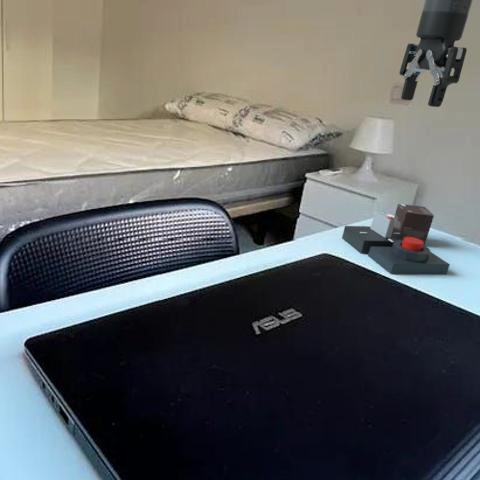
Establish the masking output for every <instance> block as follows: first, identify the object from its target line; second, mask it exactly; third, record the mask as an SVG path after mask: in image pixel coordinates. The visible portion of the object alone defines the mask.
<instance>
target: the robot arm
mask: <svg viewBox="0 0 480 480" xmlns="http://www.w3.org/2000/svg"><path fill="white" fill-rule="evenodd" d="M473 1H474V0H424V4H423V7H422V11H421V14H420V19H419V23H418V26H417V30H416V33H415V34H416V37H417V38H420V40H419V43H408V44H407V45H406V47H405V48H406V49H405V52H404V56H403V58H402V63H401V66H400V70H399V75H400V76H403V79H404V83H403V88H402V91H401V95H400V99H401V100H403V101H412V100H413V99H414V97H415V92H416V89H417V87H418V82H419V81H418V79H420V77H421V76H422V74H424V73H426V72H427V71H429V73H430V74H431V75H432V78H433V84H432V87H431V88H432V89H431V92H430V95H429V98H428V103H427V105H428V106H429V107H434V108H439V107H441V105H442V104H443V102H444V99H445V96H446V92H447V88H448V87H449V86H450V85H452V84H458V83H459V81H460V77H461V73H462V71H463V66H464V62H465V59H466V55H467V51H468V50H467V47H464V46H463V47H461V46H455V43H456V42H457V41H460V40H461V39H462V37H463V34H464V30H465V27H466V25H467V21H468V17H469V14H470V11H471V7H472V4H473ZM452 70H453V74H452V75H451V73H452Z"/></svg>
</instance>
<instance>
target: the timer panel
mask: <svg viewBox="0 0 480 480" xmlns="http://www.w3.org/2000/svg"><path fill="white" fill-rule="evenodd" d="M370 228H371V224H367V226H364V225H344V228H343V231H342V232H343V233H342V236H341V239H342V240H343V241H344V242H345V243H347V244H348V245H349V246H351V248H353V249H354V250H356V251H357V252H358V253H359V254H360V255H368V254H369V250H370V247H371V246H376V247H392V246H393V243H394V242H395V241H397V240H403V239H404V238H405V237H409V236H408V235H406V234H405V233H403V232H402V231H400V230H399V229H397V228H395V227H394V228H393V231H392V235H391V238H385V237H383V236H381V235H380V234H378V233H376V232H375V231H373V230H372V229H370Z"/></svg>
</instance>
